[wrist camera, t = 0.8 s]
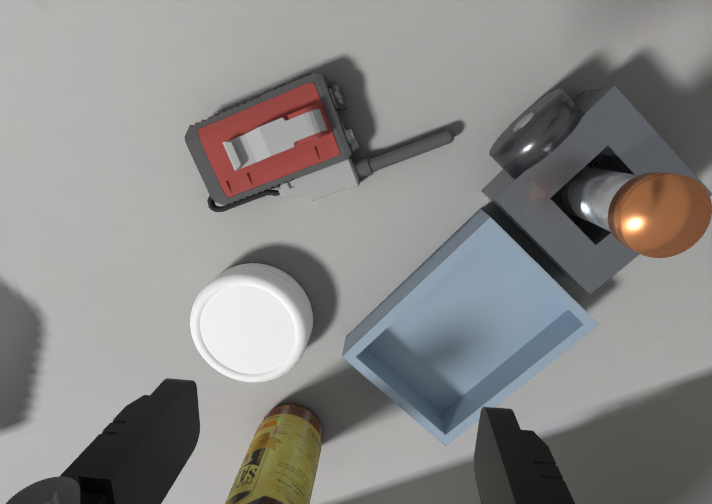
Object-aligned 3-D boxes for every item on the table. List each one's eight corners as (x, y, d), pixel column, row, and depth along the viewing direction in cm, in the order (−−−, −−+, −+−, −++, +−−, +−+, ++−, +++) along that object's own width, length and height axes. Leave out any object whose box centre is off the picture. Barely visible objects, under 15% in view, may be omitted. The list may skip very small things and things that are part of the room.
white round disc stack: (267, 239, 36) (255, 250, 33) (336, 328, 38) (331, 347, 35) (182, 299, 39) (163, 316, 35) (251, 381, 40) (238, 404, 37)
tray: (480, 208, 34) (490, 217, 31) (579, 306, 36) (599, 324, 32) (345, 336, 38) (341, 356, 35) (440, 419, 40) (445, 446, 36)
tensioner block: (563, 69, 31) (603, 55, 25) (669, 185, 33) (730, 197, 27) (461, 171, 33) (476, 179, 28) (565, 274, 35) (599, 302, 29)
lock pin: (577, 147, 32) (676, 156, 21) (615, 187, 33) (730, 216, 22) (532, 189, 33) (603, 218, 22) (569, 227, 34) (657, 274, 23)
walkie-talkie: (229, 231, 37) (455, 147, 33) (208, 244, 32) (465, 150, 29) (183, 131, 35) (420, 32, 31) (155, 131, 30) (425, 16, 27)
